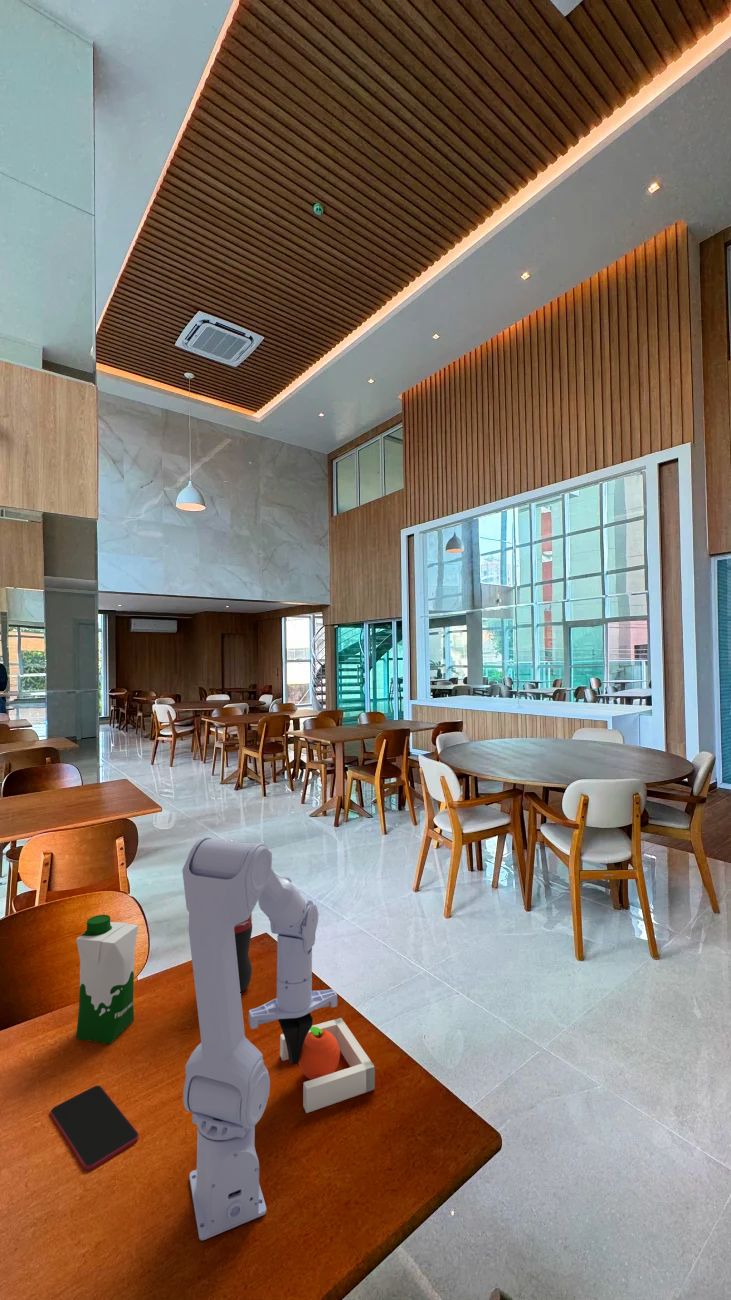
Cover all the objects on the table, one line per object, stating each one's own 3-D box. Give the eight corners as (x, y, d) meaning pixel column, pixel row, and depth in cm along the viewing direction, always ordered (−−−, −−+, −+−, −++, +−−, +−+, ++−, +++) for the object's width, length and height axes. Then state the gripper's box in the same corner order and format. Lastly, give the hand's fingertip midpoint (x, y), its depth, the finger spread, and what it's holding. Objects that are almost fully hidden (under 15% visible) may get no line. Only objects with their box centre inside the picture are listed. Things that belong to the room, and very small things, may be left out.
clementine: (287, 1069, 92) (287, 1025, 92) (321, 1052, 96) (322, 1010, 96) (311, 1098, 86) (312, 1051, 86) (348, 1079, 90) (348, 1034, 90)
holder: (374, 1089, 88) (374, 1066, 88) (306, 1113, 83) (306, 1089, 83) (341, 1037, 100) (341, 1017, 100) (280, 1055, 95) (280, 1034, 96)
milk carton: (100, 1012, 107) (103, 908, 108) (141, 1018, 106) (144, 912, 107) (67, 1041, 99) (71, 928, 100) (112, 1048, 97) (115, 933, 98)
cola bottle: (246, 1000, 112) (248, 850, 113) (205, 999, 112) (207, 850, 113) (255, 977, 120) (257, 838, 122) (217, 977, 120) (219, 838, 122)
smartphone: (99, 1083, 88) (141, 1135, 78) (98, 1089, 88) (141, 1142, 78) (48, 1109, 83) (86, 1169, 73) (48, 1115, 83) (86, 1176, 72)
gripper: (326, 954, 97) (326, 1033, 96) (244, 972, 91) (243, 1057, 90) (342, 973, 90) (341, 1059, 90) (255, 994, 84) (254, 1086, 83)
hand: (293, 1060), depth 89 cm, fingers closed
